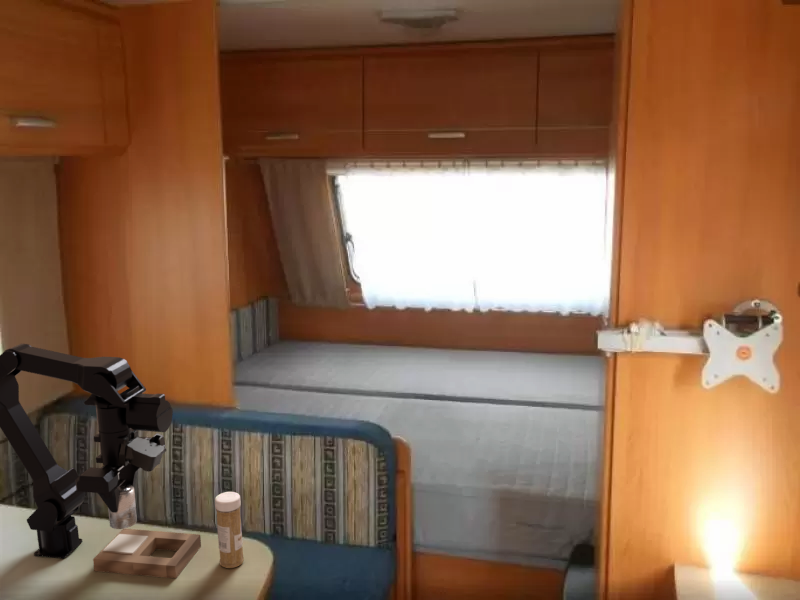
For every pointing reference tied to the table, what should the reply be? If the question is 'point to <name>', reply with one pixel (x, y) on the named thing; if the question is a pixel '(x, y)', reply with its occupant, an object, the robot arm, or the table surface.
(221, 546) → the sprinkles bottle
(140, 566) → the block
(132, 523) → the plug
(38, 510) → the robot arm
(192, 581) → the table surface
